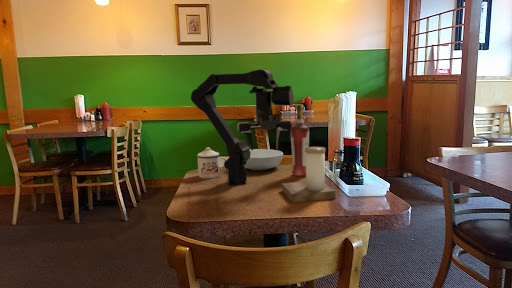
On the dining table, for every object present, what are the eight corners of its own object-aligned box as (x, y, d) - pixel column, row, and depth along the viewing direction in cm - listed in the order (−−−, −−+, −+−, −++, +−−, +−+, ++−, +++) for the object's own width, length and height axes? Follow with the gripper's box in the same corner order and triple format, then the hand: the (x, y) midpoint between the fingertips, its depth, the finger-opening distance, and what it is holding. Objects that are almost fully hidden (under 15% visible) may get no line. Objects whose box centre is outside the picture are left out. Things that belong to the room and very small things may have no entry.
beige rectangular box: (292, 202, 114) (292, 194, 113) (282, 190, 126) (282, 183, 126) (335, 198, 116) (335, 190, 116) (321, 187, 129) (321, 180, 128)
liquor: (293, 172, 151) (292, 104, 147) (311, 173, 149) (311, 104, 144) (288, 177, 144) (287, 105, 140) (307, 178, 142) (306, 105, 137)
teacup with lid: (199, 179, 145) (198, 150, 143) (196, 174, 153) (195, 146, 151) (229, 176, 148) (228, 148, 146) (225, 171, 157) (223, 144, 155)
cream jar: (316, 192, 115) (315, 150, 113) (301, 188, 120) (300, 148, 118) (329, 188, 119) (329, 148, 117) (314, 184, 124) (314, 146, 122)
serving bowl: (277, 174, 149) (277, 158, 148) (228, 172, 155) (228, 156, 154) (287, 163, 169) (287, 149, 168) (244, 162, 175) (243, 148, 174)
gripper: (240, 108, 120) (242, 155, 123) (295, 106, 123) (296, 152, 126) (236, 106, 131) (237, 149, 133) (287, 104, 134) (288, 146, 137)
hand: (264, 149), depth 132 cm, fingers open, 9 cm apart
